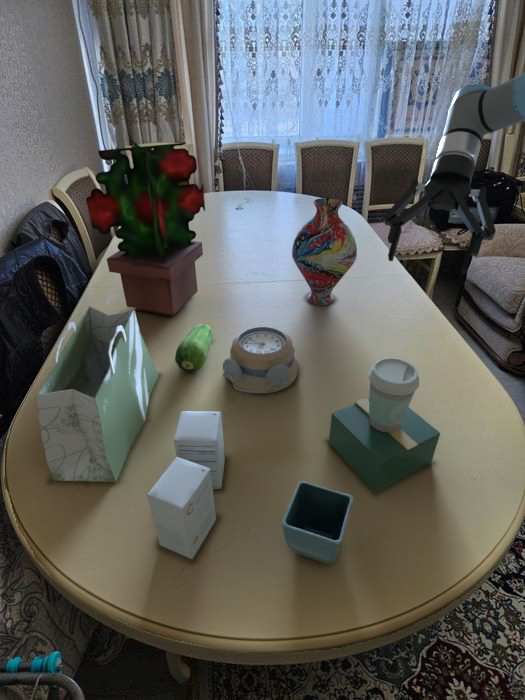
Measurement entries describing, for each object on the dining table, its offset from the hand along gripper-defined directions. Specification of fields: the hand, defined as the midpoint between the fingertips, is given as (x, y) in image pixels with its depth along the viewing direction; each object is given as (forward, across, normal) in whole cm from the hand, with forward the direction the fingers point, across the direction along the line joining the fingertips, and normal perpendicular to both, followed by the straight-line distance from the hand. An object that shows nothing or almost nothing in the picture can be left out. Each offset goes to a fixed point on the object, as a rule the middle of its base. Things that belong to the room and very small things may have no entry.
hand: (426, 264), depth 85 cm
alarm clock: (+29, +31, -16) cm, 45 cm away
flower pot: (+53, +4, +8) cm, 54 cm away
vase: (-3, +32, -48) cm, 57 cm away
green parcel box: (+36, 0, -8) cm, 37 cm away
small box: (+58, +24, +13) cm, 64 cm away
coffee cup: (+31, 0, -3) cm, 31 cm away
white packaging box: (+50, +28, +5) cm, 58 cm away
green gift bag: (+48, +53, +3) cm, 71 cm away
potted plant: (+14, +74, -31) cm, 81 cm away
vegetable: (+27, +50, -18) cm, 60 cm away
